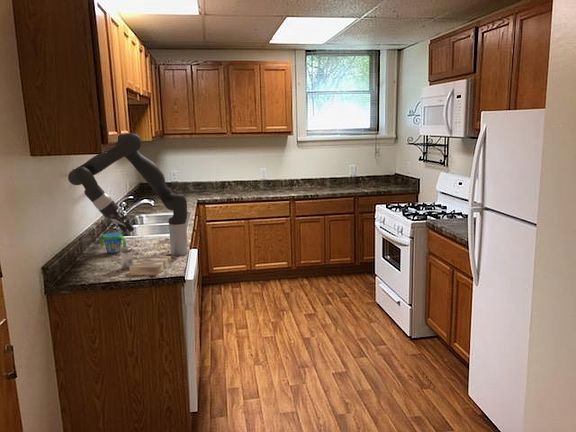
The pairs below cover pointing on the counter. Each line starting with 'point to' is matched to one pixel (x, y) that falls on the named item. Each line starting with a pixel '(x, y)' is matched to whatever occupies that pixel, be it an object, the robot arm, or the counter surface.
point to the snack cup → (113, 242)
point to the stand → (150, 265)
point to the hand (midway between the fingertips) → (128, 230)
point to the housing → (126, 257)
